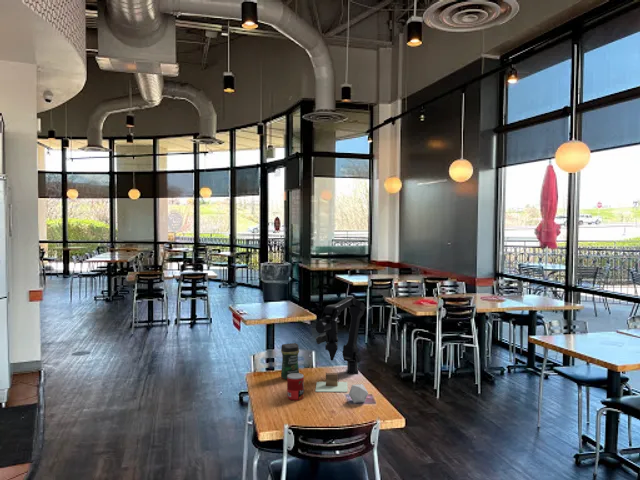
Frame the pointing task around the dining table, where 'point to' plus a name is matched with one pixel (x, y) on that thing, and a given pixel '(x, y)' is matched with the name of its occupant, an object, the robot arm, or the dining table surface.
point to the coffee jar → (289, 359)
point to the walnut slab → (331, 379)
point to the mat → (331, 387)
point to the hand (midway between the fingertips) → (332, 358)
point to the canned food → (295, 386)
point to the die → (358, 393)
